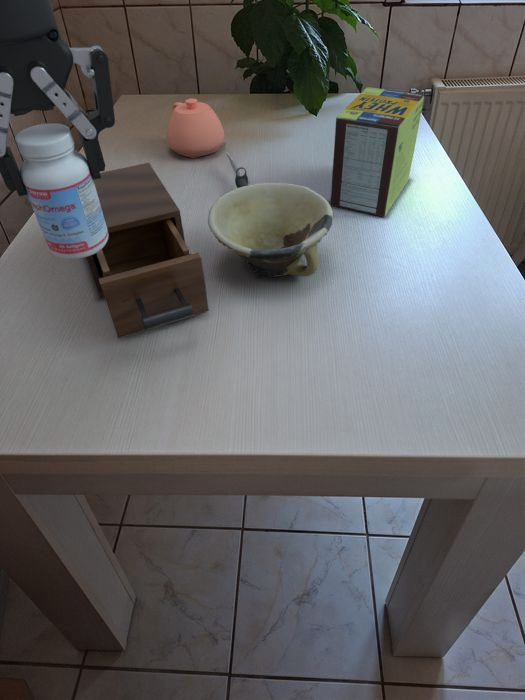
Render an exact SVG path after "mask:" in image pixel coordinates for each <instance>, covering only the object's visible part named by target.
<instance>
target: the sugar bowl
mask: <svg viewBox="0 0 525 700" xmlns="http://www.w3.org/2000/svg"><path fill="white" fill-rule="evenodd" d="M184 101H185V102H184V103H183V102H180V101H177V102H174V103H173V105H172V107H171V110H172V111H171V112H172V113H171V115H170V117H169V121H168V123H167V127H166V143H167V144H168V146H169V147H170V149H172V150H173V151H174V152H175V153H176V154H178V155H180V156H184V157H189V158H190V159H195V160H196V159H198V158H199V157H202V156H207V155H210V154H213V153H215V152H217V151H218V150H219V149H220V147H222V145H223V143H224V142H225V138H226V137H225V131H224V127H223V124H222V122H221V119H220V118H219V116H218V115H217V113H216V112H215V111H214V110H213V108H212V107H211V106H210V105H209V104H207V103H206V102H201V101H198V99H196V98H187V99H185V100H184Z"/></svg>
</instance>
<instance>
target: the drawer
mask: <svg viewBox="0 0 525 700" xmlns="http://www.w3.org/2000/svg"><path fill="white" fill-rule="evenodd" d="M108 234H109V236H108V240H107V242H106V244H105V246H104V247H103V248H102V249H101V250H100V251H98V252H97V253H95V254H96V257H97V260H98V263H99V266H100V270H101V272H102V275H103V278H99V282H100V285H101V288H102V291H103V294H104V300H105V303H106V306H107V309H108V312H109V316H110V318H111V321H112V324H113V327H114V330H115V333H116V337H117V339H121V338H123V337H127V336H130V335H134V334H137V333H140V332H144V331H146V330H150V329H154V328H158V327H160V326H163V325H168V324H170V323H173V322H174V323H175V322H177V321H180V320H183V319H187V318H190V317H194V316H196V315H200V314H204V313H208V312H209V309H210V308H209V303H208V294H207V288H206V281H205V275H204V266H203V260H202V256H201V254H200V252H199V251H198V252H194V253H191V252H190V249H189V247H188V246H187V244H186V241H185V242H184V241H183V239H182V237H181V236H180V234H179V232H178V231H177V229H176V227H175V226H174V224H173V222H172V221H171V219H170V218H169V219H165V220H161V221H157V222H153V223H149V224H144V225H140V226H136V227H132V228H128V229H124V230H120V231H116V232H111V233H108Z"/></svg>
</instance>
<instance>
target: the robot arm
mask: <svg viewBox="0 0 525 700" xmlns="http://www.w3.org/2000/svg"><path fill="white" fill-rule="evenodd" d="M74 64H76V65H78V66H79V67H80V69H81V72H82V73H83V75H84V76H85V77H86V78H87V79H90V80H91V86H92V93H93V94H92V95H93V101H94V108H95V110H93V111H91V112H90V113H88V114H87V113H86V111H84V110H83V108H82V107H81V106H80V104H78V102H77V101H76V99H75V98H74V97H73V96H72V94H71V93H70V92H69V90H67V89H66V86H67V84H68V80H69V78H70V75H71V72H72V68H73V65H74ZM113 99H114V98H113V92H112V82H111V74H110V65H109V57H108V55H107V53H106V52H105V51H104V49H103V48H102V47H101V45H100V44H98V43H96V42H92V43H90V44H89V45H88V46H87V47H69V45H68V44H67V43H66V41H65V40H64V39H63V37H62V35H61V32H60V30H59V26H58V23H57V19H56V16H55V12H54V9H53V6H52V1H51V0H0V175H1V178H2V179H3V180H2V181H3V182H4V185H5V187H6V188H7V189H8V190H9V191H10V192H15V191H16V193H17V195H18V197H22V196H28V195H27V192H26V190H25V187H24V185H23V182H22V180H21V177H20V168H19V166H18V163H17V162H16V159H15V156H14V153H13V152H12V149H11V147H10V146H8V145H7V141H8V132H9V129H10V119H11V118H10V117H11V115H13V116H14V117H19V116H24V115H27V114H28V113H31V112H33V111H38V112H39V111H40V112H47V111H52V110H54V109H55V108H54V107H56V108H57V109H58V110H59V111H60V112H61V113H62V114H63V116H64V117H65V118H66V119H67V120H68V121H69V122H71V123H72V125H73V126H74V127H75V128H76V130H77V131H79V132H78V135H79V138H80V141H81V145H82V148H83V151H84V155H85V158H86V160H87V161H88V164H89V167H90V170H91V174H92V177H93V179H99V178H101V175H100V173H102V172H106V171H105V170H106V163H105V159H104V156H103V152H102V147H101V144H100V140H99V135H100V133H101V132H102V131H103V130H105V129H110V128H112V127H114V126H115V124H116V116H115V109H114V101H113Z"/></svg>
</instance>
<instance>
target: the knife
mask: <svg viewBox="0 0 525 700" xmlns="http://www.w3.org/2000/svg"><path fill="white" fill-rule="evenodd" d="M226 155H227V158H228V161H229V163H230V165H231V168H232V170H233V172H234V174H235V177H234V184H235V186H236V189H237V188H240V187H244V186H248V185H249V177H248V175H247V169H246V168H245V167H243V166H240V167H238V166H237V165H236V162H235V160H234V158H233V157H232V156H231V154H230V153H229V152H228V151H226ZM240 170H244V173H243V175H242V173H241V172H240Z"/></svg>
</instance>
